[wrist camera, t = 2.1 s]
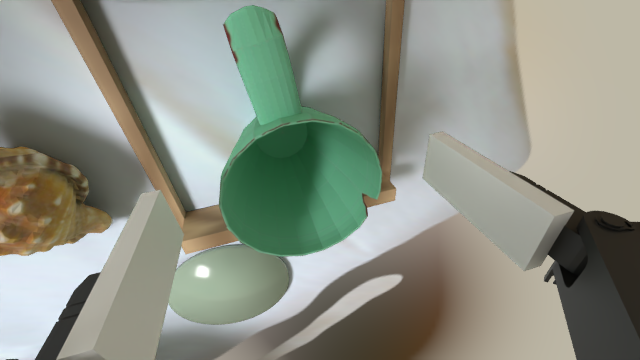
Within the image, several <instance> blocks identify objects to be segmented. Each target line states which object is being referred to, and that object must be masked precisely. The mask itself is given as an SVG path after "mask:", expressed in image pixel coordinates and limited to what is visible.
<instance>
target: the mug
mask: <svg viewBox="0 0 640 360" xmlns="http://www.w3.org/2000/svg"><path fill="white" fill-rule="evenodd" d="M223 26H224V29H225V32H226V35H227V38H228V41H229V45H230V48H231V51H232V54H233V56H234V59H235V61H236V64H237V67H238V69H239V72H240V74H241V77H242V80H243V82H244V85H245V87H246V90H247V92H248V95H249V97H250V100H251V102H252V105H253V108H254V110H255V113H256V115H257V117H256V118H255V119H254V120H253V121H252V122H251V123H250V124H249V125H248V126H247V127H246V128H245V129H244V130H243V132H242V134H241V136H240V138H239V140H238V142H237V144H236V145H235V147H234V149H233V151H232V153H231V155H230V157H229V159H228V161H227V163H226V165H225V167H224V170H223V172H222V175H221V182H220V198H219V208H220V211H221V214H222V217H223V219H224V222H225V225H226V227H227V228H228V230H229V231H230V232H231V233H232V234H233V235H234V236H235V237H236V238H237V239H238V240H239V241H240V242H241V243H242V244H244V245H246V246H248V247H250V248H252V249H254V250H256V251H258V252H260V253H265V254H270V255H275V256H280V257H284V256H303V255H307V254H311V253H315V252H319V251H322V250H325V249H327V248H329V247H331V246H333V245H335V244H337V243H339V242H341V241H343V240H344V239H345V238H347V237H348V236H349V235H350V234H352V233H353V232H354V231H355V230H357V229H358V228H359V227H360V226H361V225H362V223H363V222H364V221H365V219H366V218H367V217H368V213H367V206H366V204H365V202H364V195H363V194H366V195H367V196H369V197H370V198H373V199H375V200H377V199H378V197H379V195H380V192H381V183H382V168H381V165H380V162H379V158H378V155H377V152H376V151H375V149H374V148H373V147H372V146H371V144H370V143H369V142H368V141H367V139H366V138H365V137H364V136H363V135H362V134H361V133H360V132H359V131H358V130H357V129H355V128H354V127H352V126H350V125H348V124H346V123H345V122H343V121H341V120H339V119H337V118H335V117H333V116H331V115H328V114H325V113H322V112H319V111H317V110H314V109H312V108H308V107H302V106H301V104H300V99H299V95H298V91H297V87H296V83H295V79H294V75H293V71H292V67H291V63H290V59H289V56H288V52H287V48H286V44H285V41H284V37H283V34H282V31H281V28H280V25H279V23H278V20H277V17H276V15H275V14H274V13H273V12H271V11H269V10H267V9H264V8H262V7H258V6H254V5H252V6H245V7H243V8H241V9H239V10H237V11H235V12H234V13H232V14H230V16H229V17H228V18H227V20H226V21H225V23H224V24H223Z"/></svg>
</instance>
